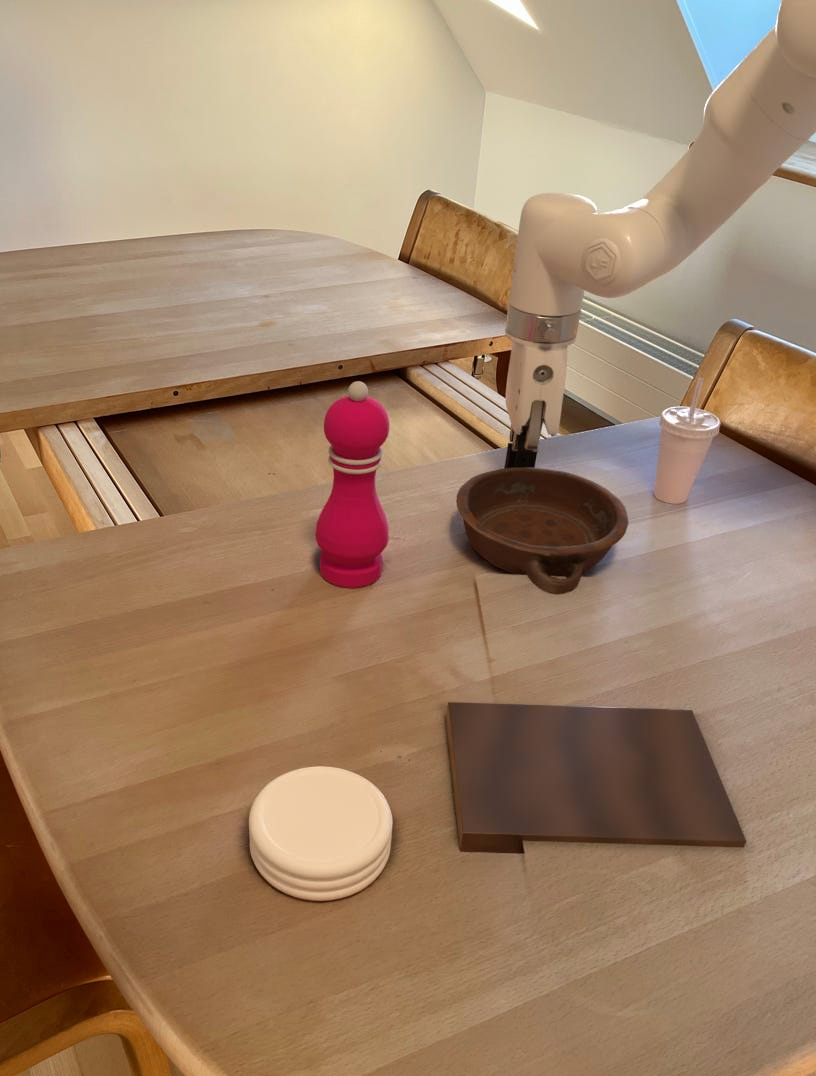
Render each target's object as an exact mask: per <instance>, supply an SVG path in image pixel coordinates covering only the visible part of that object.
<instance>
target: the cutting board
mask: <svg viewBox="0 0 816 1076" xmlns="http://www.w3.org/2000/svg"><path fill="white" fill-rule="evenodd" d="M445 726H446V735H447V745H448V753H449V763H450V771H451V772H450V773H451V782H452V790H453V799H454V807H455V808H454V809H455V810H454V811H455V817H456V826H457V836H458V845H459V851H460V852H472V853H474V852H477V853H478V852H480V853H504V854H505V853H507V854H508V853H509V854H525V852H526V851H525V847H524V842H546V843H547V842H551V843H552V842H553V843H580V844H581V843H582V844H583V843H584V844H617V845H643V846H644V845H647V846H648V845H649V846H679V847H680V846H681V847H711V848H712V847H713V848H741V849H742V848H745V846H746V844H747V839H746V837H745V834H744V832H743V830H742V827H741V824H740V822H739V820H738V818H737V815H736V813H735V811H734V808H733V805H732V803H731V801H730V799H729V796H728V794H727V791H726V789H725V785H724V784H723V781H722V778H721V777H720V774H719V771H718V769H717V767H716V765H715V763H714V760H713V757H712V755H711V753H710V750H709V747H708V744H707V742H706V740H705V738H704V735H703V733H702V731H701V729H700V726H699V723H698V721H697V719H696V716H695V714H694V711H693V709H679V708H677V709H675V708H646V707H645V708H644V707H615V706H585V705H584V706H583V705H552V704H551V705H547V704H517V703H515V704H514V703H489V702H485V703H484V702H457V701H455V702H454V701H451V702H450V701H448V702H447V708H446V715H445Z"/></svg>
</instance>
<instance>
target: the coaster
mask: <svg viewBox="0 0 816 1076" xmlns="http://www.w3.org/2000/svg"><path fill="white" fill-rule="evenodd" d="M393 825H394V821H393V814H392V811H391V807H390V805H389V802H388V800H387V798H386V797H385V796H384V794H383V792H381V790H380V789H379V788H378V787H377V786H375V784H373V783H372V782H371V781H370V780H368V779H367V778H365V777H363V776H361V775H360V774H357V773H355V772H353V771H351V770H347V769H343V768H340V767H333V766H323V765H322V766H320V765H318V766H307V767H301V768H298V769H293V770H291V771H288V772H285V773H283V774H281V775H279V776H277V777H275V778H274V779H273V780H271V781H270V782H269V783H267V784H266V785H265V786H263V788H262V789H261V791H259V793H258V794H257V795H256V797H255V799H254V801H253V803H252V805H251V807H250V811H249V815H248V831H249V832H248V836H249V837H248V838H249V852H250V856H251V859H252V861H253V864H254V866H255V868H256V869H257V871H258V872H259V873H260V875H261V876H262V877H263V878H264V880H265V881H267V882H268V884H269V885H271V886H273V887H274V888H275V889H277V890H278V891H280V892H281V893H284V894H286V895H288V896H292V897H293V898H297V899H300V900H301V899H302V900H307V901H318V902H322V901H323V902H324V901H325V902H326V901H335V900H340V899H344V898H346V897H350V896H352V895H355V894H357V893H359V892H361V891H362V890H364V889H366V888H367V887H369V886H370V885H371V884H372V883H374V881H375V880H376V879H377V878H378V877H379V876H380V874H382V872H383V870H384V869H385V867H386V865H387V863H388V860H389V857H390V854H391V847H392V837H393V833H392V832H393Z"/></svg>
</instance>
